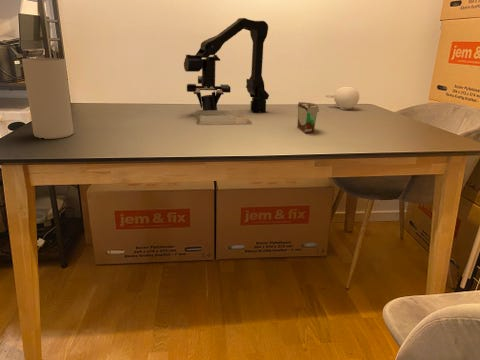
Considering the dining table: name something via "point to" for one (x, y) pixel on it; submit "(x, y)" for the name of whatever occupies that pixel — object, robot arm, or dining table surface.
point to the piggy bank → (345, 97)
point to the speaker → (209, 102)
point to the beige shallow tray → (219, 117)
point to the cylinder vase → (48, 97)
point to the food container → (307, 117)
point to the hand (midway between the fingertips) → (208, 108)
